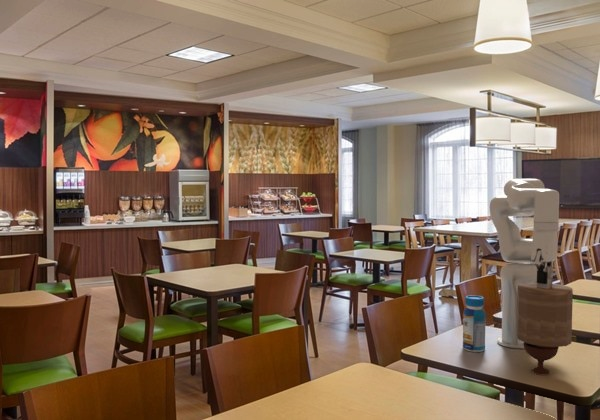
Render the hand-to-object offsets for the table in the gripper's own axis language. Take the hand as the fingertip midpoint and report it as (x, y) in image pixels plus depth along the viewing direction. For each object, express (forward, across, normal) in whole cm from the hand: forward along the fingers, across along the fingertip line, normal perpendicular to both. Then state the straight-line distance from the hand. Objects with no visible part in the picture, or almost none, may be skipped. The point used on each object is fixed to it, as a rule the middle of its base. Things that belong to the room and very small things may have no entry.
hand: (544, 282), depth 180 cm
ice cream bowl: (+31, 0, -1) cm, 31 cm away
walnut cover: (+19, 0, 0) cm, 19 cm away
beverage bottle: (+31, -6, -28) cm, 42 cm away
